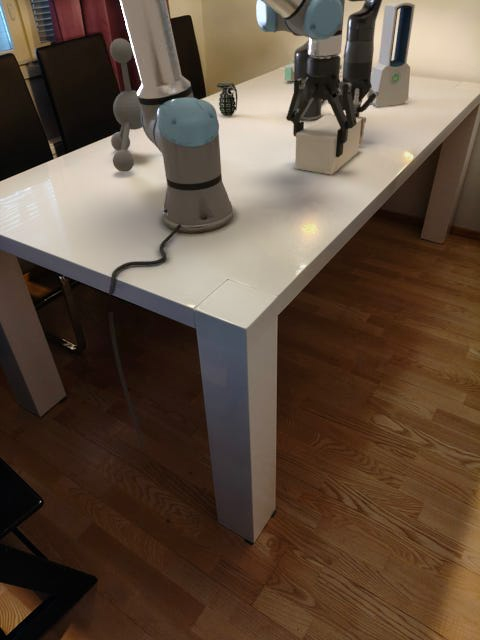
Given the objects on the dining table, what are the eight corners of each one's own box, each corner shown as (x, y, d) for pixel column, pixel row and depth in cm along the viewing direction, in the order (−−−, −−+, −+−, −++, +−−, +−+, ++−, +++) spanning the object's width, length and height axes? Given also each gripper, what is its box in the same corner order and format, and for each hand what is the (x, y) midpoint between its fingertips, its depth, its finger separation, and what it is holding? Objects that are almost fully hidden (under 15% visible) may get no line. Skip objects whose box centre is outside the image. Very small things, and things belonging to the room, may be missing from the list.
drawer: (339, 133, 145) (341, 109, 141) (369, 137, 141) (372, 112, 137) (307, 157, 131) (308, 131, 126) (339, 162, 126) (341, 135, 122)
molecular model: (197, 163, 134) (184, 38, 115) (117, 178, 128) (90, 49, 109) (174, 139, 151) (159, 27, 133) (103, 151, 145) (77, 36, 127)
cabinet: (323, 147, 139) (325, 114, 134) (358, 152, 135) (361, 118, 129) (295, 168, 128) (295, 133, 122) (331, 174, 123) (334, 138, 118)
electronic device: (375, 107, 168) (387, 4, 150) (365, 102, 174) (375, 2, 155) (407, 103, 170) (423, 1, 152) (396, 98, 176) (410, -1, 158)
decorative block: (306, 53, 217) (348, 56, 208) (306, 69, 221) (346, 73, 212) (276, 65, 201) (319, 68, 192) (276, 82, 205) (318, 86, 196)
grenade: (217, 117, 168) (214, 86, 162) (221, 112, 172) (219, 82, 166) (235, 117, 166) (233, 86, 160) (239, 113, 171) (238, 82, 165)
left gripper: (378, 55, 109) (367, 154, 122) (287, 50, 119) (286, 141, 132) (366, 61, 104) (356, 163, 117) (272, 55, 114) (272, 150, 127)
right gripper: (387, 57, 128) (379, 125, 139) (340, 55, 134) (336, 120, 145) (377, 62, 123) (369, 133, 134) (329, 60, 129) (325, 127, 140)
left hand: (318, 152), depth 125 cm, fingers closed on cabinet, 10 cm apart
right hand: (352, 126), depth 139 cm, fingers closed
